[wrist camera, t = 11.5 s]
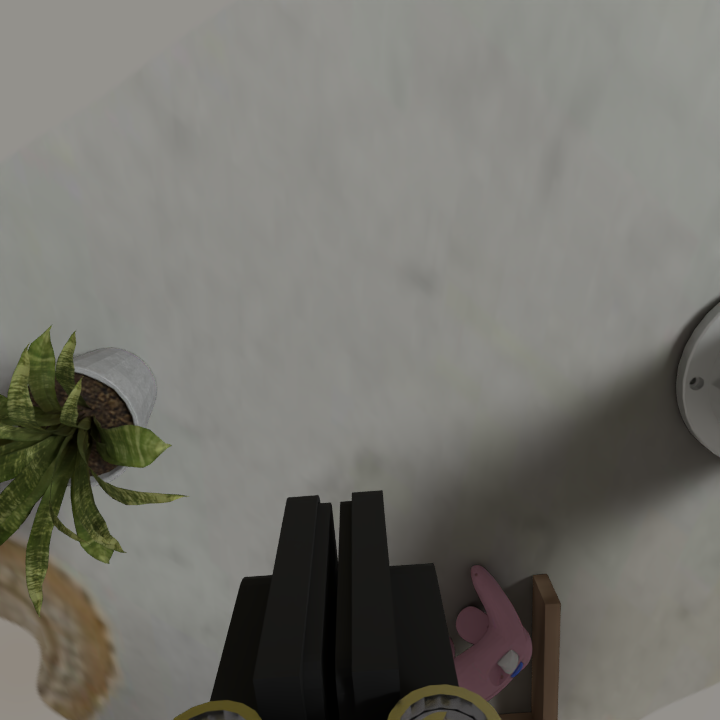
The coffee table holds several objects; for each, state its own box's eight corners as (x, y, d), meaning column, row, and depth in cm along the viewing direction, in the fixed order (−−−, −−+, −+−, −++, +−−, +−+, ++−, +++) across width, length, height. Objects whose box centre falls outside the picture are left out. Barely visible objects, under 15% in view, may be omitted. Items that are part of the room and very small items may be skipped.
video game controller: (398, 644, 47) (433, 742, 42) (365, 630, 44) (398, 733, 39) (505, 574, 45) (555, 668, 40) (478, 555, 42) (529, 654, 37)
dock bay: (547, 573, 43) (560, 603, 41) (544, 721, 48) (556, 757, 45) (319, 590, 44) (316, 621, 41) (336, 735, 48) (335, 772, 45)
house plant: (210, 239, 36) (101, 303, 20) (271, 450, 40) (220, 636, 25) (-23, 291, 37) (-298, 391, 21) (62, 493, 41) (-116, 699, 25)
